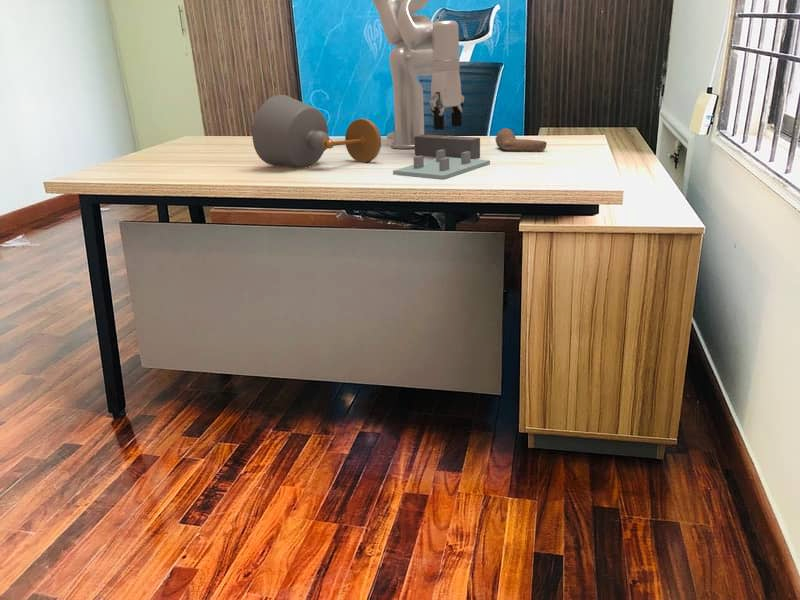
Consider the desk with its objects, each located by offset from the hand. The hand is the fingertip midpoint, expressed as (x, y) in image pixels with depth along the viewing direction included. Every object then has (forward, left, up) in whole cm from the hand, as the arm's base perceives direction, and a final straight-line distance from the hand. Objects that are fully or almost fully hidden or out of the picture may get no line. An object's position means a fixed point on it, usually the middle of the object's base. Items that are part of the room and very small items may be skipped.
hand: (448, 127), depth 206 cm
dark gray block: (-1, 0, -9) cm, 9 cm away
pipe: (+13, +20, -9) cm, 26 cm away
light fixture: (-26, -29, -9) cm, 40 cm away
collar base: (+9, -18, -9) cm, 22 cm away
